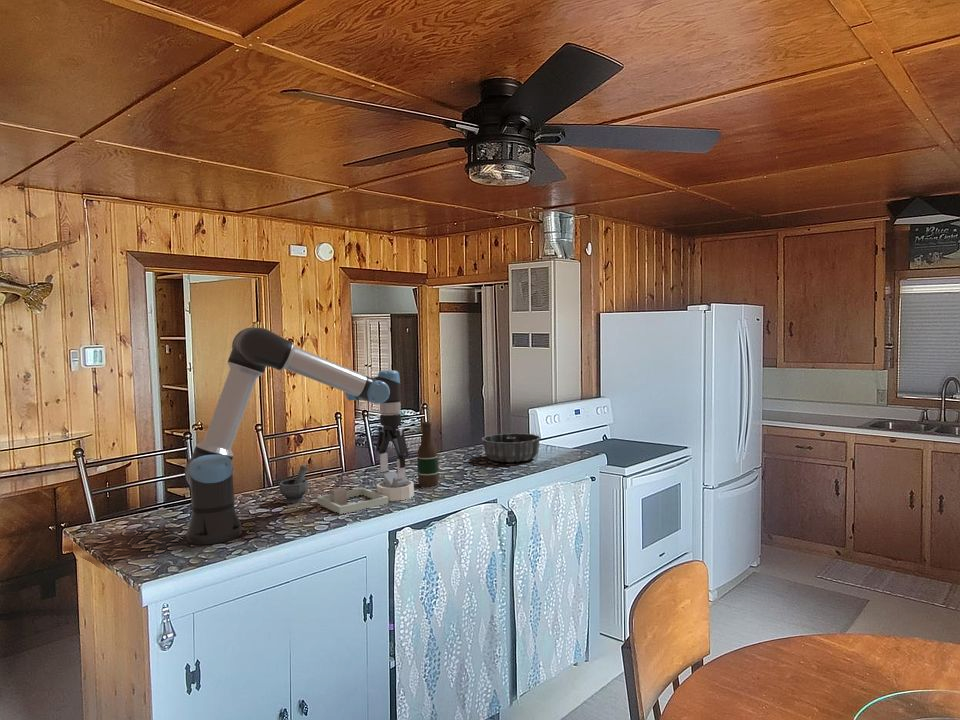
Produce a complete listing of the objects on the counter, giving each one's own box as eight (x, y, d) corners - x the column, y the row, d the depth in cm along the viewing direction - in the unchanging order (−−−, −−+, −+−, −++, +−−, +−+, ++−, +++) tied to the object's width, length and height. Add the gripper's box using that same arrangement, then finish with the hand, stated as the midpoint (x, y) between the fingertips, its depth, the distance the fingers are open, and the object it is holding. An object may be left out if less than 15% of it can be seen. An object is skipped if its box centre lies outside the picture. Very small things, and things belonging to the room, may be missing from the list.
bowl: (389, 503, 224) (388, 490, 224) (370, 496, 235) (370, 483, 234) (420, 496, 232) (420, 483, 232) (401, 489, 243) (401, 477, 242)
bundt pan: (486, 453, 307) (485, 432, 306) (542, 453, 303) (541, 432, 303) (478, 465, 281) (477, 442, 280) (539, 465, 277) (539, 442, 277)
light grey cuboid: (391, 484, 231) (384, 474, 235) (390, 491, 232) (383, 481, 237) (402, 481, 233) (395, 471, 237) (401, 488, 235) (394, 478, 239)
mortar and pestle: (292, 506, 224) (290, 471, 224) (274, 502, 229) (272, 469, 229) (317, 498, 234) (315, 465, 233) (299, 495, 239) (297, 463, 238)
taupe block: (334, 509, 219) (334, 491, 219) (330, 507, 222) (329, 489, 222) (347, 506, 222) (346, 489, 222) (342, 504, 225) (341, 487, 224)
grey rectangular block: (394, 496, 230) (397, 482, 227) (390, 490, 232) (393, 477, 230) (406, 494, 232) (409, 480, 230) (401, 488, 235) (404, 475, 232)
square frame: (340, 514, 213) (339, 507, 213) (317, 503, 227) (316, 496, 227) (388, 503, 224) (388, 496, 224) (363, 494, 238) (363, 487, 238)
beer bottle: (442, 484, 249) (440, 421, 248) (427, 488, 244) (425, 424, 243) (429, 481, 255) (427, 420, 254) (414, 485, 249) (411, 422, 248)
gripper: (417, 415, 226) (419, 477, 227) (383, 409, 245) (385, 467, 246) (398, 417, 221) (401, 481, 223) (365, 411, 240) (367, 470, 241)
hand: (392, 473), depth 234 cm, fingers open, 11 cm apart
